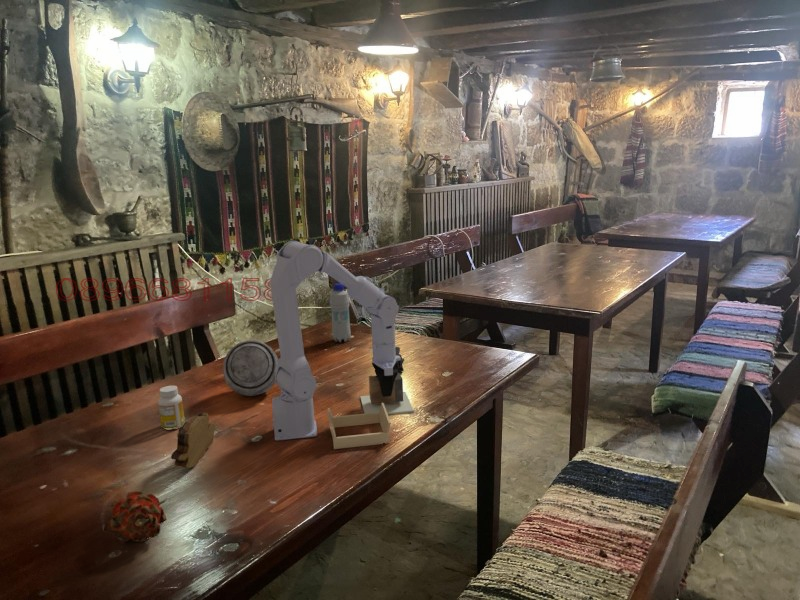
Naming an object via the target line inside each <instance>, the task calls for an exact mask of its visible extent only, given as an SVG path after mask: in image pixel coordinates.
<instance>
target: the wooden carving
mask: <svg viewBox="0 0 800 600" xmlns="http://www.w3.org/2000/svg"><path fill="white" fill-rule="evenodd" d="M215 428H216V424H215V423H210V417H209V414H208V412H199V413H198V414H197V415H193V416H192V417H190V418H189V419H188V421H185V423H184V425H182V426H181V427H180V428H179V429H178V432H177V434H176V437H177V440H176V441H177V445H176V449H175V450H174V451H173V452H172V454H171V455H170V458H171V460H175V461H174V466H175V467H180V468H185V469H191V468H193V467H195V465H196V464H197V463H198V462H199V460H200V459H201V458H202V457H204V456H205V454H206V452H207V449H208V448H209V447H211V445H212V444H213V443H214V436H215ZM202 459H203V458H202ZM202 459H201V460H202ZM201 460H200V461H201ZM199 463H200V462H199ZM199 463H198V464H199ZM198 464H197V465H198ZM197 465H196V466H197Z"/></svg>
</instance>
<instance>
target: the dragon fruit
mask: <svg viewBox="0 0 800 600" xmlns="http://www.w3.org/2000/svg"><path fill="white" fill-rule="evenodd" d="M111 516H112V518H111V519H109V518H110V517H111ZM108 519H109V521H108V522H107V523H102V524H101V525H102V527H101V528H102V531H103V532H104V533H108V532H113V531H115V532H116V531H118V532H117V539H118V540H119V541H122V542H128V541H130V540H132V541H133V542H136V543H137V542H139V543H140V542H145V540H146V541H148V540H147V538H149V537H150V538H151V539H153V538H155V537H157V536H158V535H159V534H160V531H161V524H164V522H166V521H167V517H166V515H165V510H164V507H162V506H161V503H160V499H159V498H158V497H157V496H156V495H154V494H152V493H148V494H147V495H145V494H144V493H143V492H141V491H139V490H138V491H130V492H127V494H126V498H125V499H124V498H123V499H120V500H118V501H117V502H114V503H112V504H111V507H110V509H109V514H108V515H107V516H105V520H108ZM150 538H149V539H150ZM129 539H130V540H129Z"/></svg>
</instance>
